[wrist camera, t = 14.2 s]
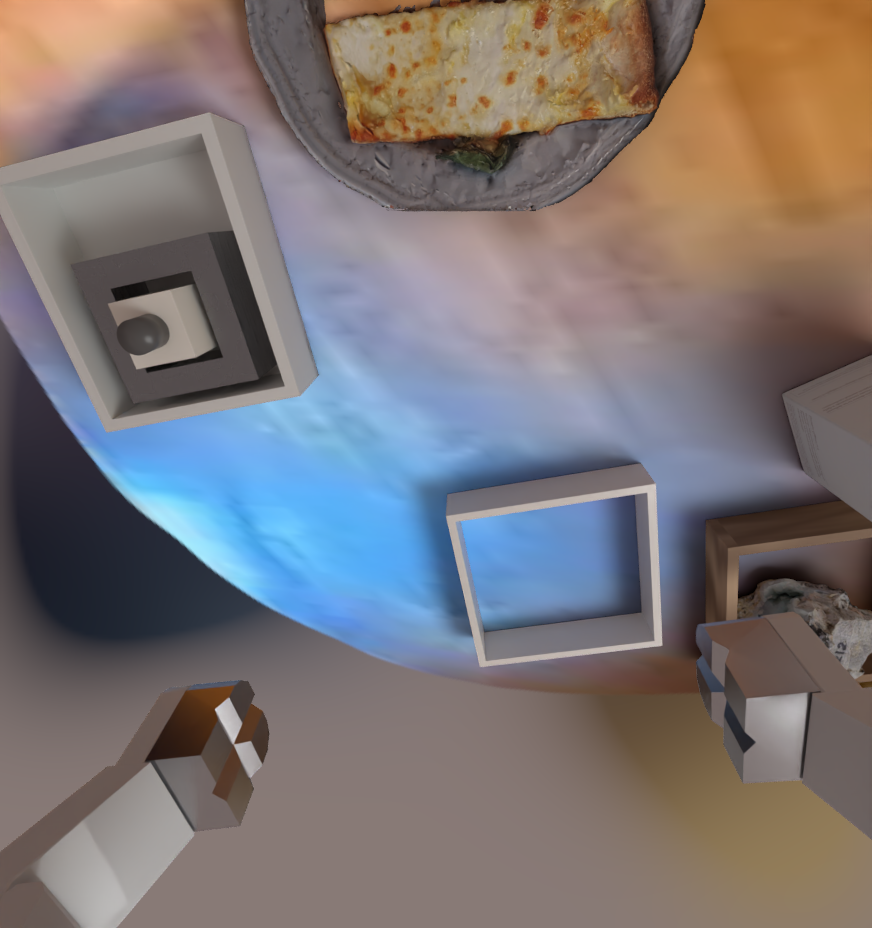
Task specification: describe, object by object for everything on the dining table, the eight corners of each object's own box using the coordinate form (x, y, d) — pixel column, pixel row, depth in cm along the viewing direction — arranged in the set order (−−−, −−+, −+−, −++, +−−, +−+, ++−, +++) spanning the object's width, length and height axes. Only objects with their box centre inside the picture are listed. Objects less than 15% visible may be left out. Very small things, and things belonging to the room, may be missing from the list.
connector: (159, 290, 37) (86, 309, 30) (213, 278, 37) (152, 294, 29) (182, 347, 39) (117, 378, 31) (234, 336, 38) (180, 365, 31)
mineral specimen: (737, 553, 50) (776, 647, 51) (692, 598, 46) (734, 700, 47) (858, 553, 42) (902, 666, 43) (816, 608, 38) (864, 731, 39)
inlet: (109, 259, 36) (70, 264, 33) (233, 230, 35) (207, 232, 32) (163, 386, 40) (133, 403, 36) (277, 363, 39) (258, 379, 35)
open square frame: (447, 494, 43) (446, 516, 40) (641, 463, 42) (655, 483, 38) (478, 638, 50) (479, 667, 46) (649, 616, 48) (662, 645, 44)
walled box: (42, 178, 35) (-21, 173, 30) (243, 126, 33) (209, 112, 29) (145, 408, 41) (106, 432, 37) (318, 375, 40) (300, 395, 35)
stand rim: (705, 520, 43) (727, 548, 40) (911, 490, 41) (954, 517, 38) (705, 661, 49) (724, 696, 46) (884, 640, 48) (919, 676, 44)
